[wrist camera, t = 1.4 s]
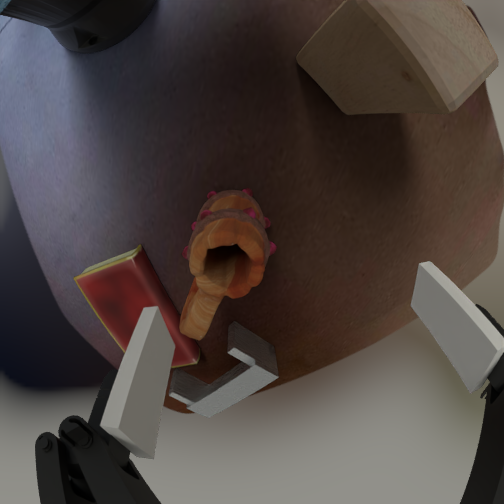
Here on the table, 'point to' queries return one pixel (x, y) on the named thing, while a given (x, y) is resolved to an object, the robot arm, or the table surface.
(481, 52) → the wooden block
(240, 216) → the mug
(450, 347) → the robot arm
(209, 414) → the end cap
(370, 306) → the table surface
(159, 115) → the table surface
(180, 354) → the hardcover book
